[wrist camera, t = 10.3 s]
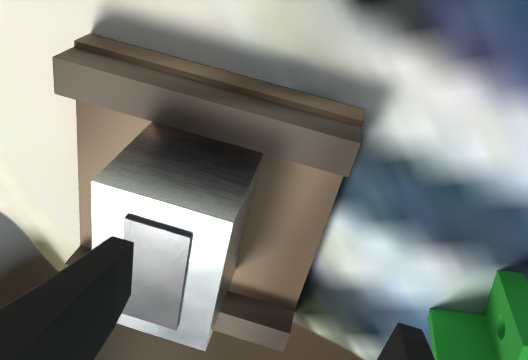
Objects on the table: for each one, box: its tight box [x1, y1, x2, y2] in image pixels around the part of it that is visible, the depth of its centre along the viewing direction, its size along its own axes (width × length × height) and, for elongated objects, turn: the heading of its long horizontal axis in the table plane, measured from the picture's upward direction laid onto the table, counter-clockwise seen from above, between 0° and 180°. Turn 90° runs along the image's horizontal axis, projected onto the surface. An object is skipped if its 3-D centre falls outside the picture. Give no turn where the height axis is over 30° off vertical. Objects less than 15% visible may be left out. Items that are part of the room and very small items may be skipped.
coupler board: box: [52, 34, 364, 352], centre depth 21 cm, size 12×13×3 cm
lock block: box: [91, 122, 263, 351], centre depth 19 cm, size 5×7×5 cm
